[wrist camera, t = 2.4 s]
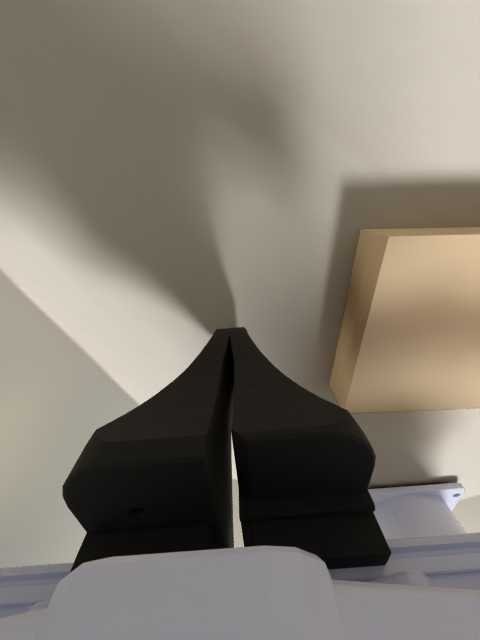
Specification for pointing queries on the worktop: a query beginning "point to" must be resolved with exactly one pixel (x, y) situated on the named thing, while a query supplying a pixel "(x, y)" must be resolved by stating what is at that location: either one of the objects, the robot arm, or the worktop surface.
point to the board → (411, 322)
